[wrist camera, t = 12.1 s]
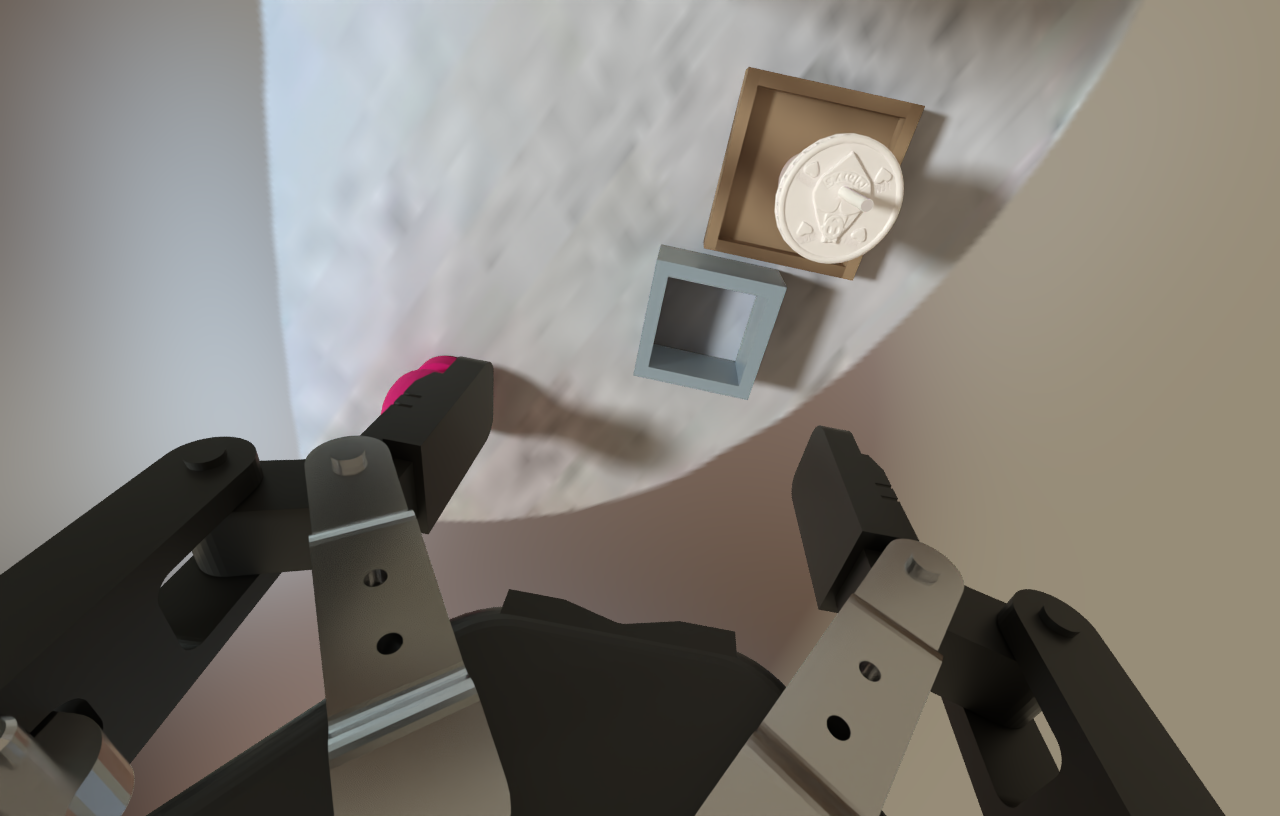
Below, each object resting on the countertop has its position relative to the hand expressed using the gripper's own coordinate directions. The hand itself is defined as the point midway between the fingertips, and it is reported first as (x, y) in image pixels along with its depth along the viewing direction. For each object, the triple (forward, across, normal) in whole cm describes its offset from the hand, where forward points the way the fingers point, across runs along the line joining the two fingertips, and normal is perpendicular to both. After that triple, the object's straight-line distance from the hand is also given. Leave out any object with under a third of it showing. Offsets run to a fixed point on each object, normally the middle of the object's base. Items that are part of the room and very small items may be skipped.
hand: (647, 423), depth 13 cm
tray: (+29, -8, -4) cm, 30 cm away
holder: (+29, -4, +7) cm, 30 cm away
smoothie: (+28, -8, -4) cm, 30 cm away
